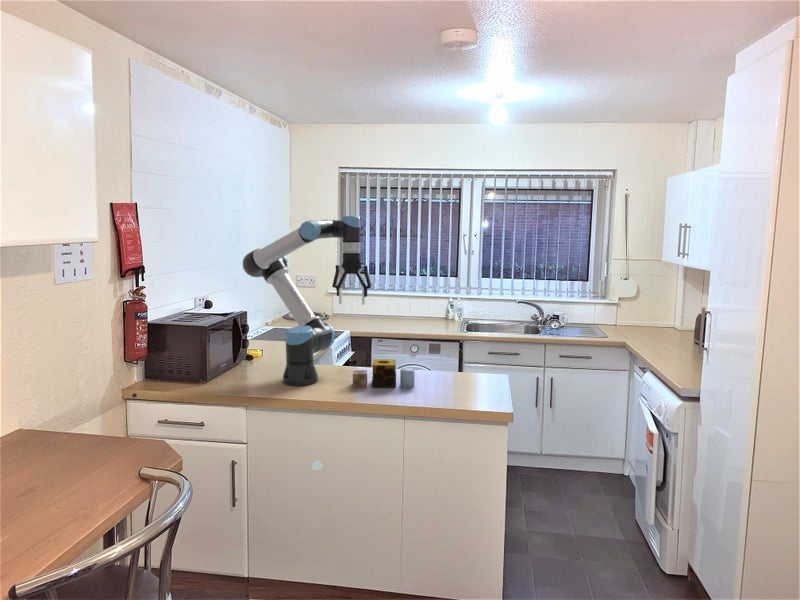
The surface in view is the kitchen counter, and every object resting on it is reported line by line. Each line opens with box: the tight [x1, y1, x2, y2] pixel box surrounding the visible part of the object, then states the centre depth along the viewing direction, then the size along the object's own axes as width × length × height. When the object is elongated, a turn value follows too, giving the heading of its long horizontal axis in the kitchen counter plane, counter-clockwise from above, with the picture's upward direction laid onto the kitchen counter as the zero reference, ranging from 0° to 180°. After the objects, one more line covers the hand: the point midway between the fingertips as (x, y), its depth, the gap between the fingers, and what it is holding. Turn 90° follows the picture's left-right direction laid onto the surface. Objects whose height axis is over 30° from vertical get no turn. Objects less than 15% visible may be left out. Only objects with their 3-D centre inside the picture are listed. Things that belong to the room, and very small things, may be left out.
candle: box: [371, 358, 397, 389], centre depth 255 cm, size 10×10×10 cm
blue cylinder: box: [399, 367, 416, 389], centre depth 253 cm, size 6×6×7 cm
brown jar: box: [352, 369, 368, 389], centre depth 253 cm, size 6×6×6 cm
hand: (352, 303), depth 258 cm, fingers open, 9 cm apart
